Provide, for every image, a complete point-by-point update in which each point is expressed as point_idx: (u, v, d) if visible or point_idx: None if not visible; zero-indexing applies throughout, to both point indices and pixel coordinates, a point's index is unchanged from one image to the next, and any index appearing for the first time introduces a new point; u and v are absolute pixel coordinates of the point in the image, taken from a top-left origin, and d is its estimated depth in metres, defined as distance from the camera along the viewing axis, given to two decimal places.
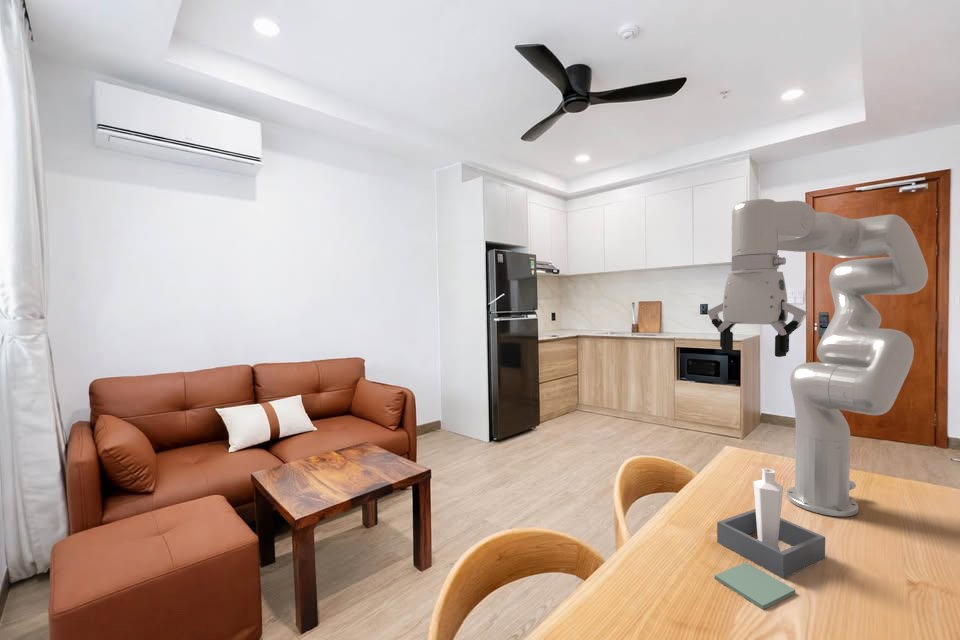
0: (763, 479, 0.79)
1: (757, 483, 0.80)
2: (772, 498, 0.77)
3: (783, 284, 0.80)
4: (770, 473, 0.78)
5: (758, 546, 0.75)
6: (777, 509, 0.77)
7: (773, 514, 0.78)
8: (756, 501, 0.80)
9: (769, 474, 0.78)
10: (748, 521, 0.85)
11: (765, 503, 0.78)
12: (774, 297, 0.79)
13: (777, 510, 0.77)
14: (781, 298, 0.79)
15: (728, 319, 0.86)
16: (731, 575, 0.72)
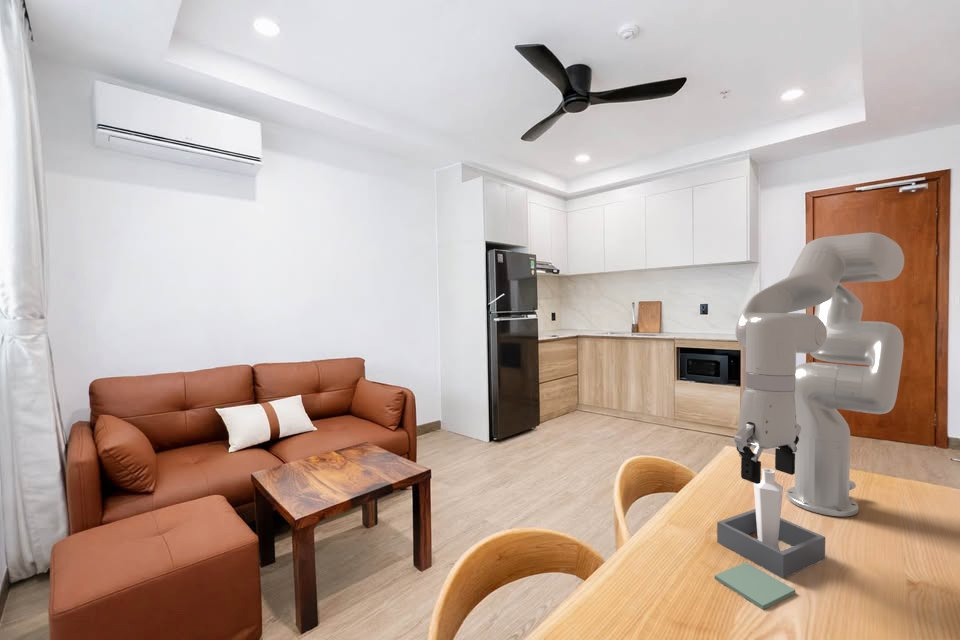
0: (763, 479, 0.79)
1: None
2: (772, 498, 0.77)
3: None
4: (770, 473, 0.78)
5: (758, 546, 0.75)
6: (777, 509, 0.77)
7: (773, 514, 0.78)
8: (756, 501, 0.80)
9: (769, 474, 0.78)
10: (748, 521, 0.85)
11: (765, 503, 0.78)
12: (796, 416, 0.78)
13: (777, 510, 0.77)
14: None
15: (767, 446, 0.75)
16: (731, 575, 0.72)
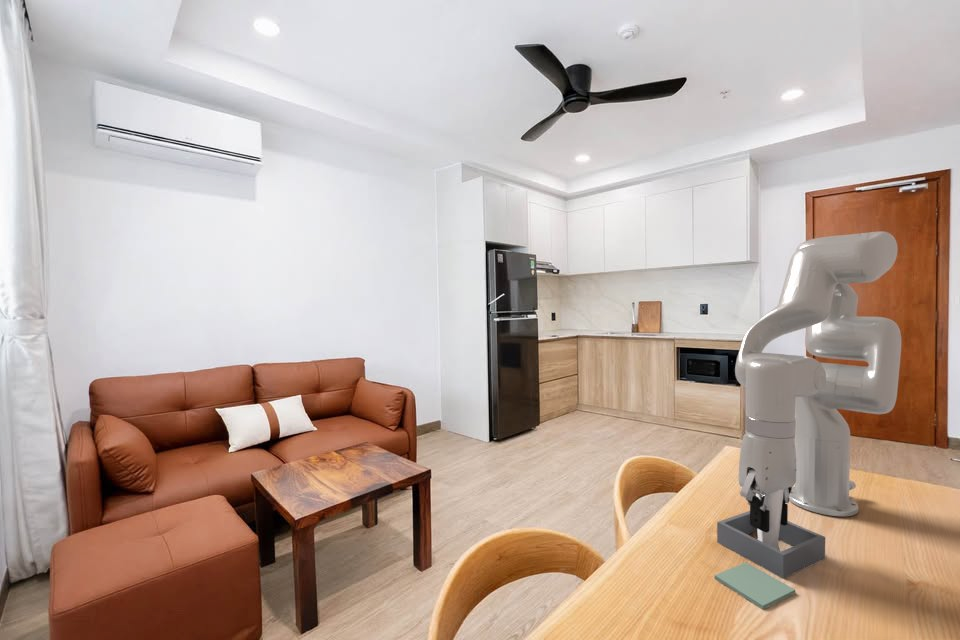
0: None
1: None
2: (773, 497, 0.77)
3: None
4: None
5: (758, 546, 0.75)
6: (778, 509, 0.77)
7: (773, 514, 0.78)
8: None
9: None
10: (748, 521, 0.85)
11: None
12: (796, 460, 0.79)
13: (778, 510, 0.77)
14: None
15: (767, 491, 0.76)
16: (731, 575, 0.72)
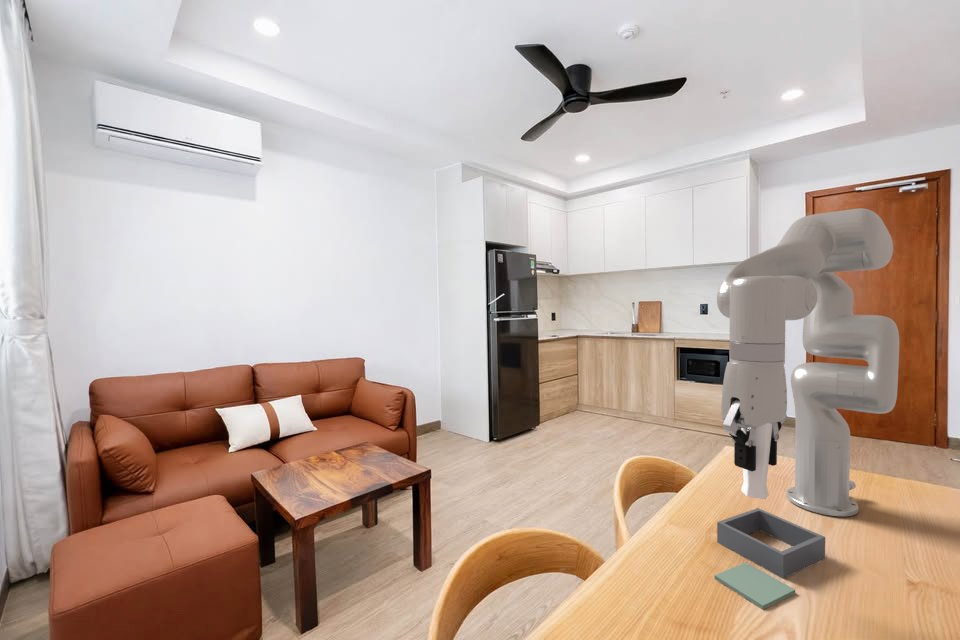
0: None
1: None
2: (760, 432, 0.68)
3: None
4: None
5: (758, 546, 0.75)
6: (765, 445, 0.68)
7: (761, 451, 0.68)
8: None
9: None
10: (748, 521, 0.85)
11: None
12: (786, 391, 0.69)
13: (765, 446, 0.68)
14: None
15: (753, 423, 0.66)
16: (731, 575, 0.72)
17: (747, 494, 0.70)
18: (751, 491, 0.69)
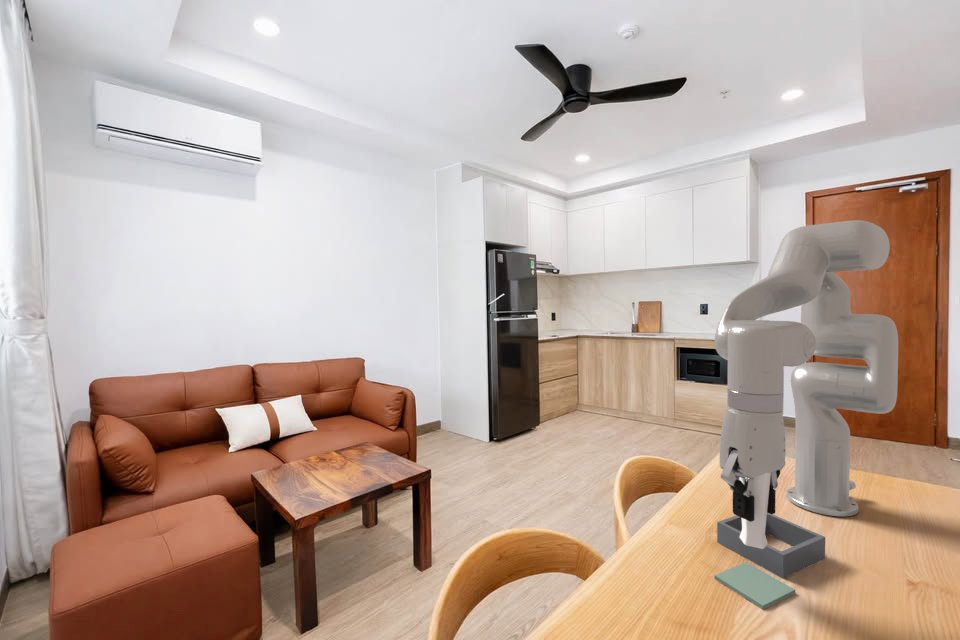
0: None
1: None
2: (758, 481, 0.68)
3: None
4: None
5: None
6: (764, 494, 0.68)
7: (759, 501, 0.68)
8: None
9: None
10: None
11: None
12: (784, 439, 0.69)
13: (764, 496, 0.68)
14: None
15: (751, 474, 0.66)
16: (731, 575, 0.72)
17: (745, 543, 0.69)
18: (749, 540, 0.69)
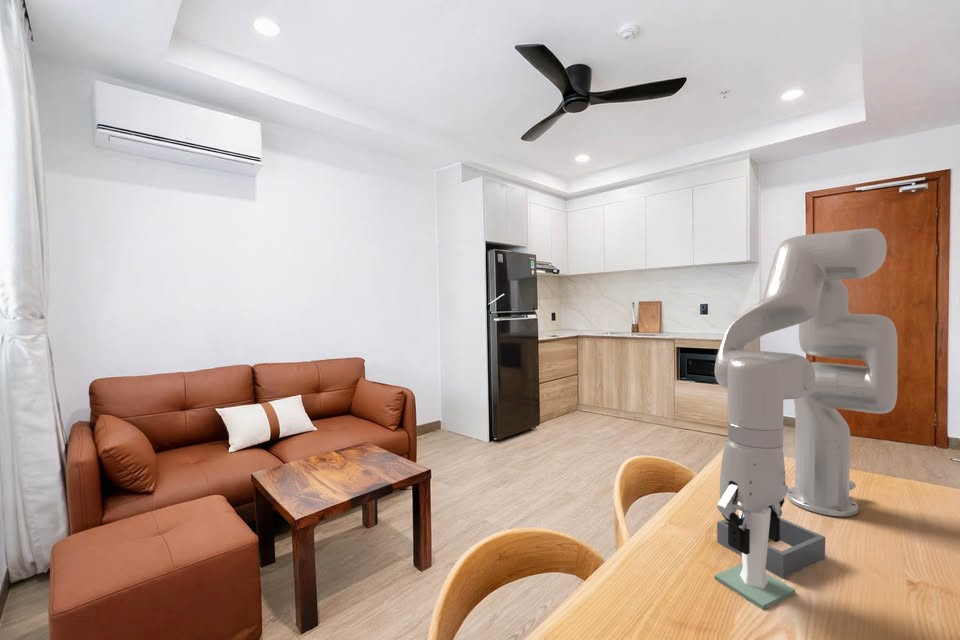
0: None
1: None
2: (759, 522, 0.68)
3: None
4: None
5: None
6: (764, 535, 0.68)
7: (759, 541, 0.68)
8: None
9: None
10: None
11: (751, 528, 0.69)
12: (784, 472, 0.69)
13: (764, 536, 0.68)
14: None
15: (751, 509, 0.66)
16: (731, 575, 0.72)
17: (746, 582, 0.70)
18: (750, 579, 0.69)
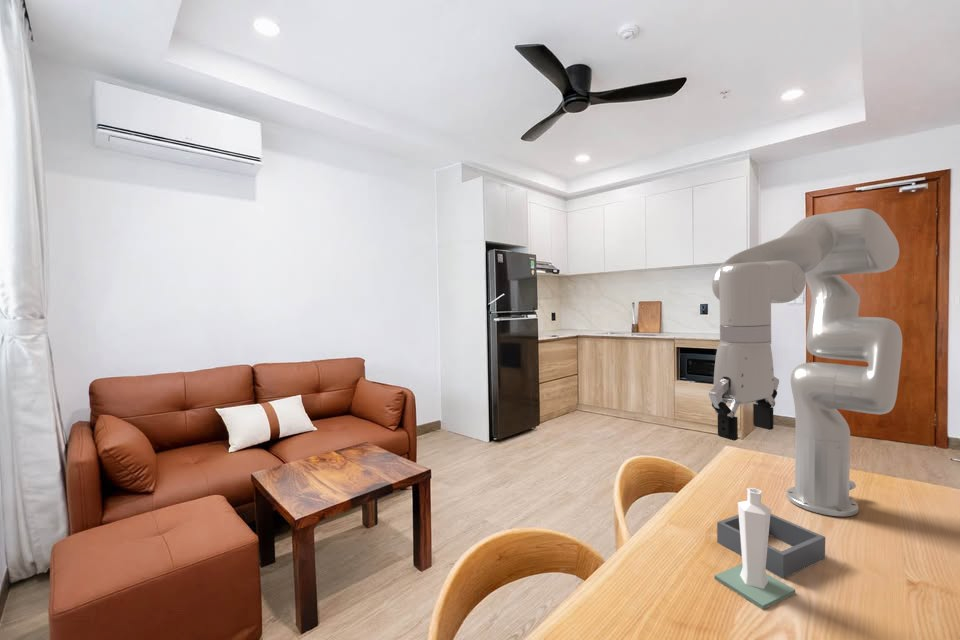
0: (748, 500, 0.70)
1: (742, 505, 0.70)
2: (759, 522, 0.68)
3: None
4: (756, 494, 0.69)
5: None
6: (764, 535, 0.68)
7: (759, 541, 0.68)
8: (741, 525, 0.71)
9: (755, 495, 0.69)
10: None
11: (751, 528, 0.69)
12: None
13: (764, 536, 0.68)
14: None
15: (743, 400, 0.71)
16: (731, 575, 0.72)
17: (746, 582, 0.70)
18: (750, 579, 0.69)
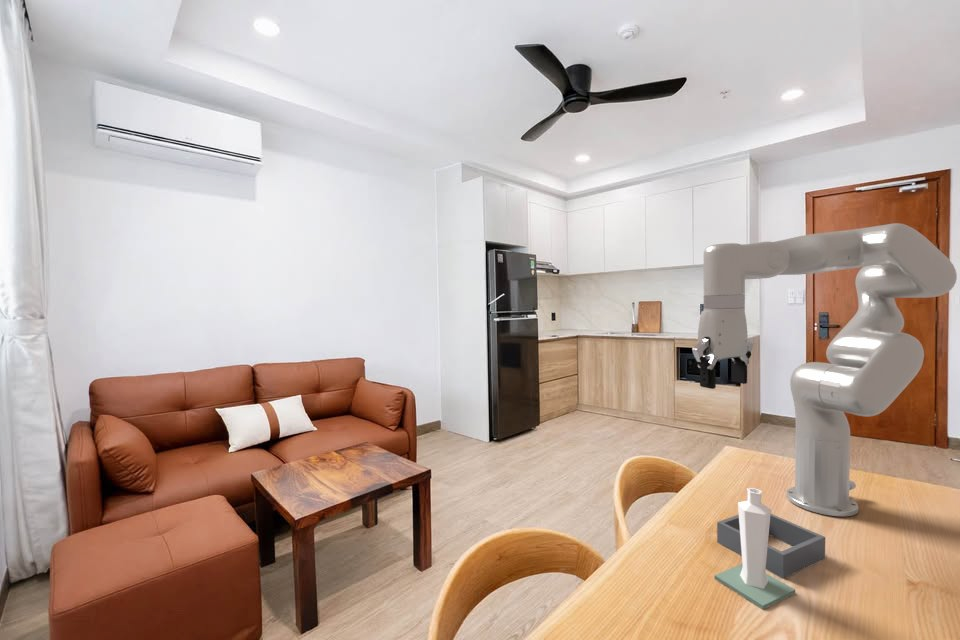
0: (748, 500, 0.70)
1: (742, 505, 0.70)
2: (759, 522, 0.68)
3: None
4: (756, 494, 0.69)
5: None
6: (764, 535, 0.68)
7: (759, 541, 0.68)
8: (741, 525, 0.71)
9: (755, 495, 0.69)
10: None
11: (751, 528, 0.69)
12: None
13: (764, 536, 0.68)
14: None
15: (720, 355, 0.87)
16: (731, 575, 0.72)
17: (746, 582, 0.70)
18: (750, 579, 0.69)
